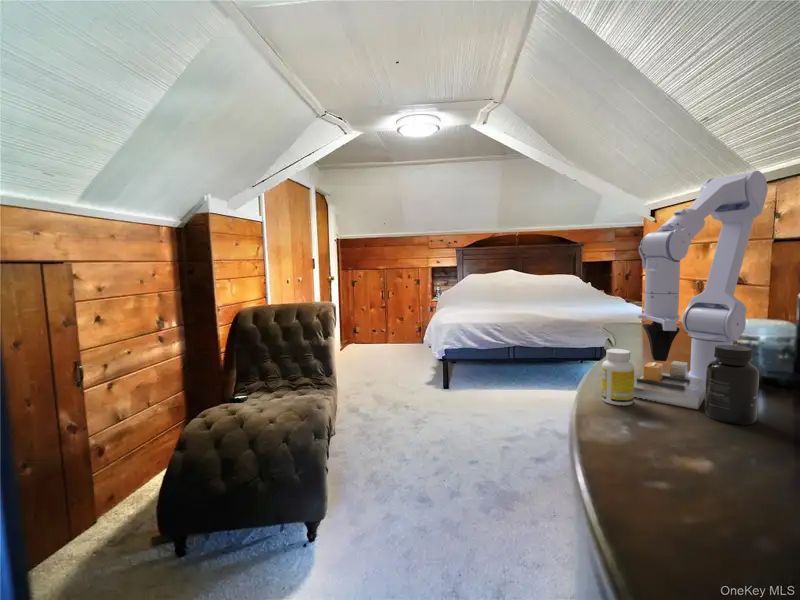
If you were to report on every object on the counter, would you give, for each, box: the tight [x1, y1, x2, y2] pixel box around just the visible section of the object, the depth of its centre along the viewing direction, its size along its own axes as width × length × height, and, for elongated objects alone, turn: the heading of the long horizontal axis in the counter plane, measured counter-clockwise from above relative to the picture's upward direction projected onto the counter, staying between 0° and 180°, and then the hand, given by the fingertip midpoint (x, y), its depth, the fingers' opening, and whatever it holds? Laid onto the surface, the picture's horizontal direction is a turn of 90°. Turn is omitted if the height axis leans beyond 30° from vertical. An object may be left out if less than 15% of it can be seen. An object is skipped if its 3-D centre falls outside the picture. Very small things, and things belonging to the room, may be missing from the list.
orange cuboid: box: [643, 361, 664, 382], centre depth 83 cm, size 4×2×3 cm, turn 136°
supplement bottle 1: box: [601, 348, 635, 407], centre depth 77 cm, size 5×5×10 cm
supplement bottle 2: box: [704, 344, 760, 426], centre depth 68 cm, size 7×7×12 cm
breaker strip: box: [634, 360, 706, 410], centre depth 81 cm, size 14×11×5 cm
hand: (659, 360), depth 82 cm, fingers closed
